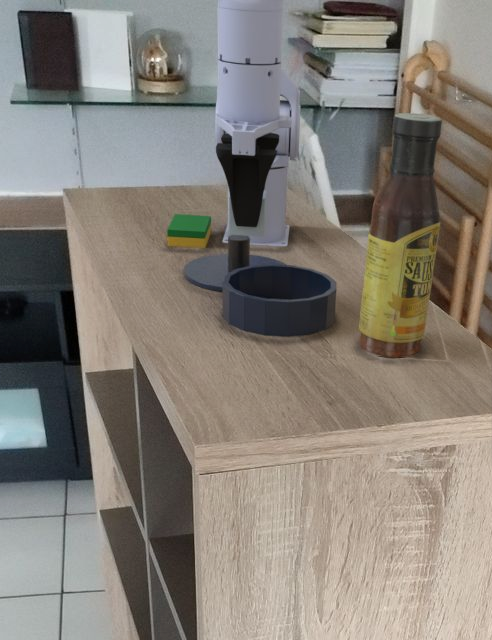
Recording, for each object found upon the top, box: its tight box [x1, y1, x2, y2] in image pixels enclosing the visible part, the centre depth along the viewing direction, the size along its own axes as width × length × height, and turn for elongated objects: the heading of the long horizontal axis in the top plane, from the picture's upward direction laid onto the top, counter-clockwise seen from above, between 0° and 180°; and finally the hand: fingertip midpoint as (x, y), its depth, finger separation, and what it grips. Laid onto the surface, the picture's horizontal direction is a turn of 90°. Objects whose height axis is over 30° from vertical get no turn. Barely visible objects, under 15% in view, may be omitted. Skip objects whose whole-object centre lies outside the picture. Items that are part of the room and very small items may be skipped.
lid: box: [183, 235, 288, 293], centre depth 99 cm, size 12×12×5 cm
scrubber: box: [166, 213, 212, 249], centre depth 110 cm, size 7×4×2 cm, turn 179°
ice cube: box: [229, 190, 267, 237], centre depth 89 cm, size 4×4×4 cm
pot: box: [222, 264, 338, 338], centre depth 90 cm, size 11×11×4 cm
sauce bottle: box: [358, 112, 443, 359], centre depth 80 cm, size 6×6×20 cm
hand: (247, 220), depth 89 cm, fingers closed on ice cube, 3 cm apart
